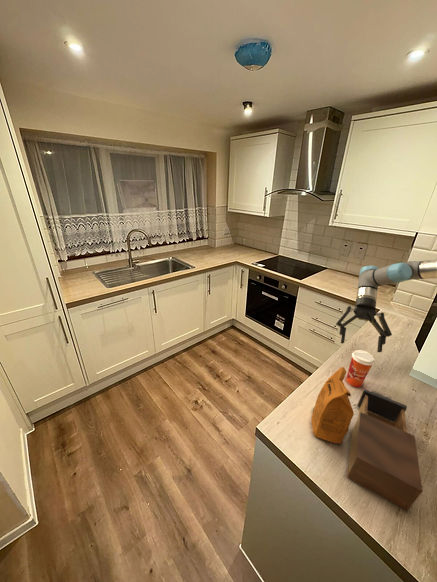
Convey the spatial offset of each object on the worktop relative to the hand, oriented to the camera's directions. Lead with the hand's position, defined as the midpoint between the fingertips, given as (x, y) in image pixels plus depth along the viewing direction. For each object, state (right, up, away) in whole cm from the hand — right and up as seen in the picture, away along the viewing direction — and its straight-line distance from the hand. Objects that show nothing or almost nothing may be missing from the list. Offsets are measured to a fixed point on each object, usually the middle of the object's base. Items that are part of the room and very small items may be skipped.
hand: (360, 347), depth 96 cm
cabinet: (-13, -27, -29) cm, 42 cm away
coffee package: (-22, -22, -18) cm, 36 cm away
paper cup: (-3, -14, 0) cm, 15 cm away
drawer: (-5, -21, -17) cm, 28 cm away
